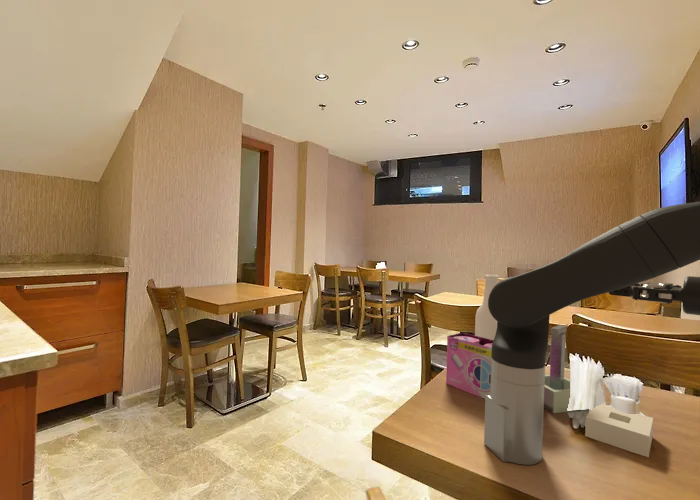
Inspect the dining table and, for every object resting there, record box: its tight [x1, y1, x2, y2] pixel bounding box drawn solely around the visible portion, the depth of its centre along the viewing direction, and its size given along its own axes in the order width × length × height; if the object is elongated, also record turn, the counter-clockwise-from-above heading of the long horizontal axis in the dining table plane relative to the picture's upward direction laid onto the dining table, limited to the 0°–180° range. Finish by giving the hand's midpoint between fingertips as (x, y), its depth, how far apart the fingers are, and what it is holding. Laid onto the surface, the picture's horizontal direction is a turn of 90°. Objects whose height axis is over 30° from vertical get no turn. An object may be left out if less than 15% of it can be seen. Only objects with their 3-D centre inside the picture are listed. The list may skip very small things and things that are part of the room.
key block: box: [584, 403, 654, 459], centre depth 73 cm, size 10×10×4 cm
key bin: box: [544, 374, 571, 414], centre depth 88 cm, size 10×10×5 cm
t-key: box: [549, 324, 568, 390], centre depth 88 cm, size 6×2×18 cm, turn 131°
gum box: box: [445, 332, 494, 400], centre depth 91 cm, size 24×8×14 cm, turn 38°
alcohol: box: [474, 274, 500, 340], centre depth 107 cm, size 9×9×30 cm
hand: (614, 288), depth 79 cm, fingers open, 8 cm apart
